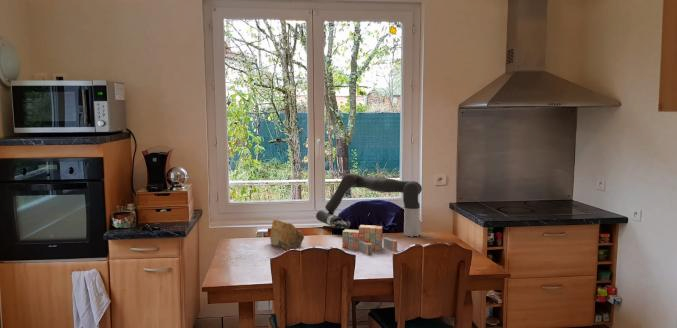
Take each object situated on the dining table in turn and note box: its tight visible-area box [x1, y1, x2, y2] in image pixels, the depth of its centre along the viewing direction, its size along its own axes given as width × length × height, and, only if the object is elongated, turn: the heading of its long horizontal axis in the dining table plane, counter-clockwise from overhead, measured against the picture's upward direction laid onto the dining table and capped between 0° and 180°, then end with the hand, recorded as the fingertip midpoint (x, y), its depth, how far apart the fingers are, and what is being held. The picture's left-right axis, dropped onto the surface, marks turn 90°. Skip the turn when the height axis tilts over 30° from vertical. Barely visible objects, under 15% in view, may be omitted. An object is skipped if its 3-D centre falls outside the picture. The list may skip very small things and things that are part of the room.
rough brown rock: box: [269, 219, 305, 251], centre depth 252 cm, size 23×17×15 cm
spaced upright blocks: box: [358, 237, 398, 256], centre depth 245 cm, size 18×10×6 cm, turn 117°
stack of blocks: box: [341, 224, 383, 251], centre depth 250 cm, size 21×6×12 cm, turn 77°
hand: (347, 227), depth 275 cm, fingers closed
